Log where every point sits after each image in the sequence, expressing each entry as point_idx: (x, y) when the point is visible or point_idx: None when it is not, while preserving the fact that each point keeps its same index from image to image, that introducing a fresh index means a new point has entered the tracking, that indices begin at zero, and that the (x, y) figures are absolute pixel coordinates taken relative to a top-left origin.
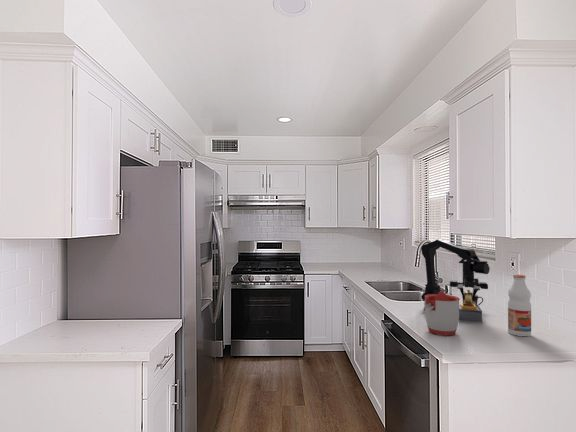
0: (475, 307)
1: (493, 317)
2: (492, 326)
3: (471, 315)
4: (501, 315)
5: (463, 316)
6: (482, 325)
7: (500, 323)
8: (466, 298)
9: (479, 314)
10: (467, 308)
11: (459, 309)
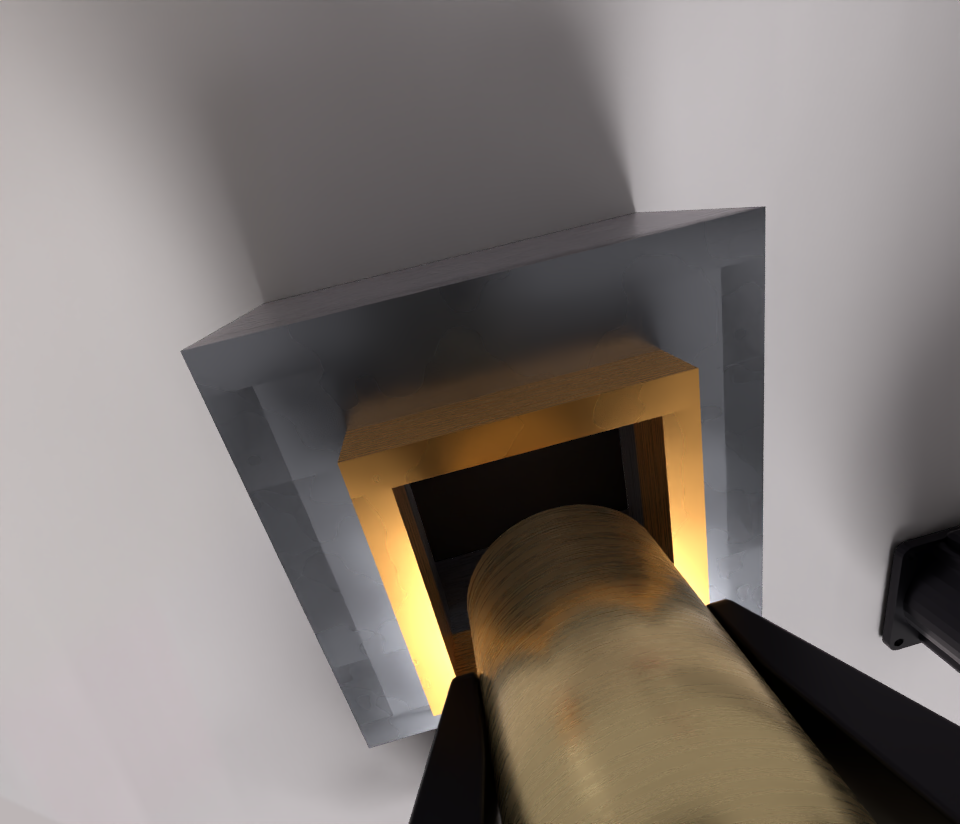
0: (360, 450)
1: (218, 684)
2: (11, 95)
3: (428, 274)
4: (172, 817)
5: (565, 238)
6: (192, 61)
7: (2, 423)
8: (685, 622)
9: (267, 316)
10: (541, 382)
11: (708, 218)
